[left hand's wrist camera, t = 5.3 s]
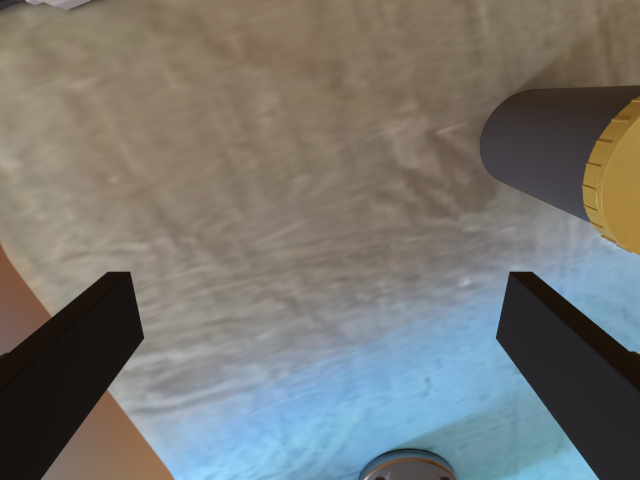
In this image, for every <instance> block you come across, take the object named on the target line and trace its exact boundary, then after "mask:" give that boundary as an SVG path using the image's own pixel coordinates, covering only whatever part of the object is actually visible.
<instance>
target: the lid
mask: <svg viewBox="0 0 640 480" xmlns="http://www.w3.org/2000/svg"><path fill="white" fill-rule="evenodd" d="M631 101H632V102H631V103H630V104H628V105H627V106H626V107H625V108H624V109H623V110H621V112H620V113H619V114H618V115H617V116H616V117H615V118H614V119H612V120H611V122H610V124H609V125H608V126H607V127H606V129H605V130H604V131H603V133H602V134H601V136H600V137H599V139H598V141H596V144H595V146H594V148H593V150H592V152H591V154H590V157H589V160H588V162H587V163H586V169H585V174H584V179H583V185H582V187H583V201H584V205H583V207H585V210H586V212H587V215H588V217H589V219H590V221H591V222H590V224H592V225H593V226H594V227H595V228H596V229H597V231H598V232H599V233H600V234H601V235H602V237H603V238H605V239H607V240H609V241H611V242H613V243H615V244H617V245H616V246H618V247H620V248H622V249H624V250H626V251H628V252H633V253H636V254H639V255H640V96H639V97H637V98H636V99H633V100H631Z"/></svg>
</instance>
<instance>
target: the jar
mask: <svg viewBox="0 0 640 480" xmlns="http://www.w3.org/2000/svg"><path fill="white" fill-rule="evenodd" d="M639 96H640V85H636V86H611V87H586V88H561V89H536V90H527V91H523V92H520V93H518V94H516V95H513V96H512V97H510V98H508V99H507V100H505V101H504V102H503V103H501V104H500V105H499V106H498V107H497V108H496V109H495V111H494V112H493V113H492V114H491V116H490V117H489V119H488V121H487V123H486V124H485V127H484V129H483V132H482V136H481V142H480V152H481V157H482V161H483V163H484V166H485V167H486V169H487V170H488V172H489V173H490V174H491V175H492V176H493V177H494V178H496V179H497V180H499V181H501V182H503V183H505V184H507V185H509V186H512V187H514V188H516V189H518V190H520V191H522V192H525V193H527V194H529V195H531V196H533V197H535V198H538V199H540V200H542V201H544V202H546V203H548V204H550V205H553V206H555V207H557V208H559V209H561V210H563V211H566V212H568V213H570V214H572V215H574V216H576V217H579V218H581V219H583V220H585V221H587V222H589V223H590V222H591V221H590V219H589V217H588V215H587V212H586V210H585V207H583V205H584V201H583V187H582V185H583V179H584V174H585V169H586V163H587V162H588V160H589V157H590V154H591V152H592V150H593V148H594V146H595V144H596V141H598V139H599V137H600V136H601V134H602V133H603V131H604V130H605V129H606V127H607V126H608V125H609V124H610V122H611V120H612V119H614V118H615V117H616V116H617V115H618V114H619V113H620V112H621V110H623V109H624V108H625V107H626V106H627V105H628V104H630V103H631V102H632V101H631V100H633V99H636V98H637V97H639Z"/></svg>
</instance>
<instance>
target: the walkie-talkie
mask: <svg viewBox="0 0 640 480" xmlns="http://www.w3.org/2000/svg"><path fill="white" fill-rule="evenodd" d="M88 1H91V0H0V10H1V9H3V8H6V7H8V6H10V5H13V4H15V3H19V2H23V3H31V4H34V5H37V4H40V3H42V2H44V3H47V4H50V5H52V6H55V7H58V8H61V9H64V10H69V9H71V8H73V7H76V6H78V5H81V4H83V3H86V2H88Z"/></svg>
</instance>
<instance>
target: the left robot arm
mask: <svg viewBox="0 0 640 480" xmlns="http://www.w3.org/2000/svg"><path fill="white" fill-rule="evenodd" d="M143 339H144V335H143V330H142V326H141V321H140V316H139V311H138V306H137V302H136V297H135V292H134V287H133V283H132V278H131V273H130V272H107V273H106V274H105V275H103V276H102V277H101V278H100V279H99V280H97V281H96V282H95V283H94V284H92V285H91V286H90V287H89V288H88V289H86V290H85V291H84V292H83V293H81V294H80V295H79V296H78V297H77V298H75V299H74V300H73V301H72V302H70V303H69V304H68V305H67V306H66V307H64V308H63V309H62V310H61V311H60V312H58V313H57V314H56V315H55V316H53V317H52V318H51V319H50V320H49V321H47V322H46V323H45V324H44V325H42V326H41V327H40V328H39V329H38V330H36V331H35V332H34V333H33V334H31V335H30V336H29V337H28V338H27V339H25V340H24V341H23V342H22V343H20V344H19V345H18V346H17V347H16V348H14V349H13V350H12V351H11V352H9V353H5V354H3V355H1V356H0V480H41V478H42V477H43V476H44V474H45V473H46V472H47V470H48V469H49V468H50V466H51V465H52V463H53V462H54V461H55V459H56V458H57V457H58V455H59V454H60V452H61V451H62V450H63V448H64V447H65V446H66V444H67V443H68V442H69V440H70V439H71V437H72V436H73V435H74V433H75V432H76V431H77V429H78V428H79V427H80V425H81V424H82V422H83V421H84V420H85V418H86V417H87V416H88V414H89V413H90V412H91V410H92V409H93V407H94V406H95V405H96V403H97V402H98V401H99V399H100V398H101V396H102V395H103V394H104V392H105V391H106V390H107V388H108V387H109V386H110V384H111V383H112V381H113V380H114V379H115V377H116V376H117V375H118V373H119V372H120V371H121V369H122V368H123V366H124V365H125V364H126V362H127V361H128V360H129V358H130V357H131V356H132V354H133V353H134V351H135V350H136V349H137V347H138V346H139V345H140V343H141V342H142V340H143ZM496 339H497V340H498V342H499V343H500V345H501V346H502V347H503V349H504V350H505V351H506V353H507V354H508V356H509V357H510V358H511V360H512V361H513V362H514V364H515V365H516V366H517V368H518V369H519V371H520V372H521V373H522V375H523V376H524V377H525V379H526V380H527V381H528V383H529V384H530V386H531V387H532V388H533V390H534V391H535V392H536V394H537V395H538V397H539V398H540V399H541V401H542V402H543V403H544V405H545V406H546V407H547V409H548V410H549V412H550V413H551V414H552V416H553V417H554V418H555V420H556V421H557V422H558V424H559V425H560V427H561V428H562V429H563V431H564V432H565V433H566V435H567V436H568V437H569V439H570V440H571V442H572V443H573V444H574V446H575V447H576V448H577V450H578V451H579V453H580V454H581V455H582V457H583V458H584V459H585V461H586V462H587V463H588V465H589V466H590V468H591V469H592V470H593V472H594V473H595V474H596V476H597V477H598V478H599V480H640V354H638V353H636V352H629V351H628V350H627V349H626V348H624V347H623V346H622V345H621V344H620V343H618V342H617V341H616V340H615V339H613V338H612V337H611V336H610V335H609V334H607V333H606V332H605V331H604V330H602V329H601V328H600V327H599V326H598V325H596V324H595V323H594V322H593V321H591V320H590V319H589V318H588V317H587V316H585V315H584V314H583V313H582V312H580V311H579V310H578V309H577V308H576V307H574V306H573V305H572V304H571V303H570V302H568V301H567V300H566V299H565V298H563V297H562V296H561V295H560V294H559V293H557V292H556V291H555V290H554V289H552V288H551V287H550V286H549V285H548V284H546V283H545V282H544V281H543V280H541V279H540V278H539V277H538V276H537V275H535V274H534V273H533V272H510V273H509V278H508V283H507V287H506V292H505V297H504V302H503V306H502V311H501V316H500V321H499V326H498V330H497V335H496ZM358 480H456V477H455V474H454V472H453V470H452V468H451V466H450V465H449V464H448V463H447V462H446V461H445V460H444V459H442V458H441V457H439V456H437V455H435V454H432V453H429V452H426V451H421V450H400V451H394V452H390V453H387V454H385V455H382V456H380V457H378V458H376V459H375V460H373V461H372V462H370V463H369V464H368V465H367V466H366V467H365V468H364V469H363V470H362V472H361V473H360V475H359V478H358Z"/></svg>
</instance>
